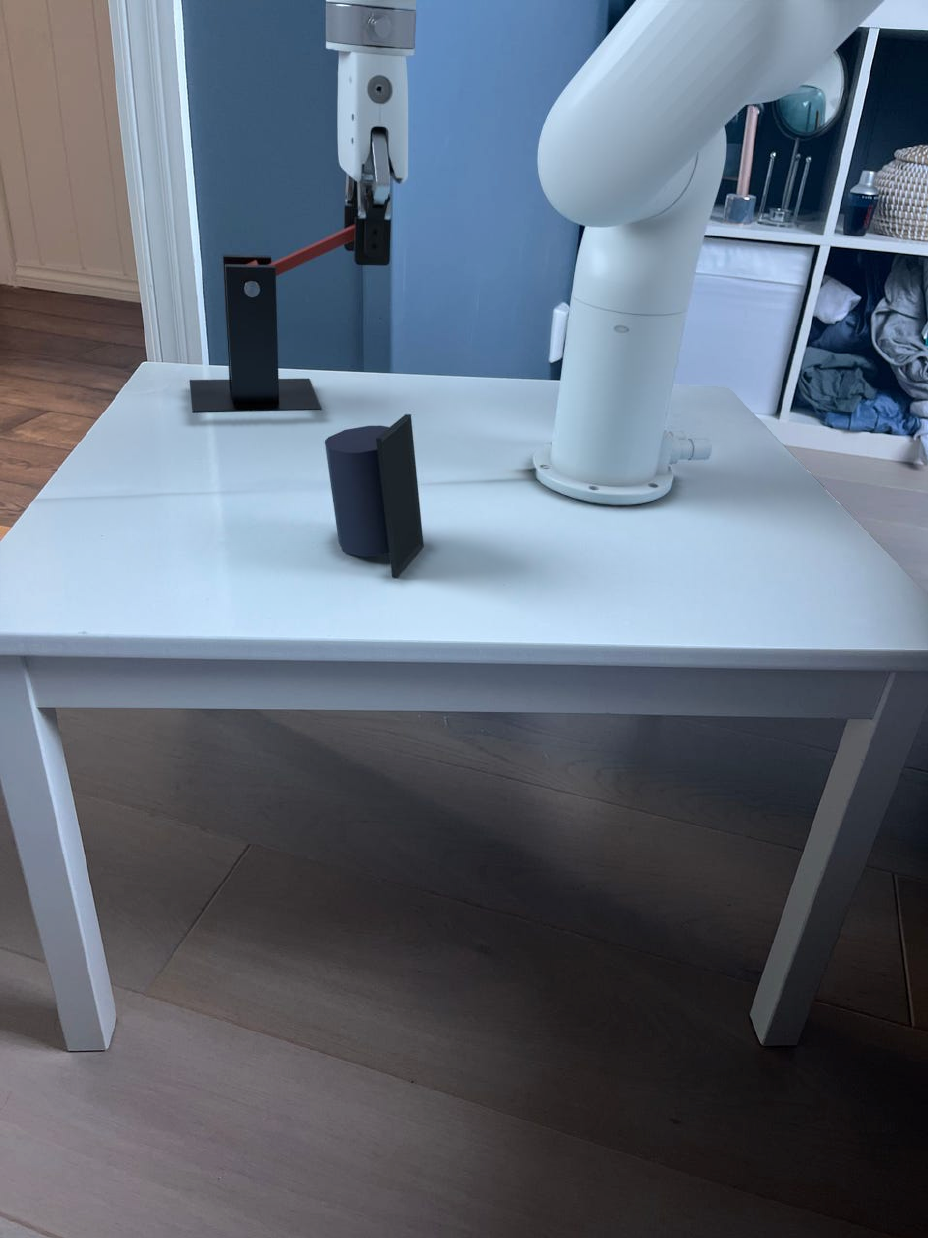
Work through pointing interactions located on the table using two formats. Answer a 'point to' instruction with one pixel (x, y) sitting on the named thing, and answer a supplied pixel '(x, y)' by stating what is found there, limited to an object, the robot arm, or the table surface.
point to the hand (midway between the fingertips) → (366, 255)
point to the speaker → (376, 492)
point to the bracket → (251, 347)
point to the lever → (312, 250)
